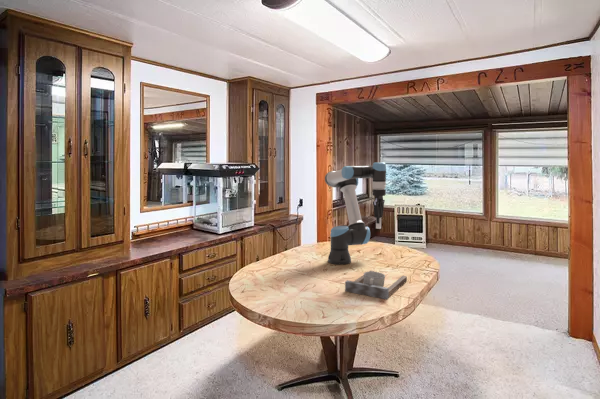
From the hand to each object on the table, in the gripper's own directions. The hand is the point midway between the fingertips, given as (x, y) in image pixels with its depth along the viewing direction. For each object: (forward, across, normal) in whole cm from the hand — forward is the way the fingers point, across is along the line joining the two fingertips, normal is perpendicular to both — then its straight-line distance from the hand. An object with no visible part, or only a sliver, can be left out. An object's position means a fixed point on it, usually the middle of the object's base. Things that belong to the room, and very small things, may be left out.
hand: (378, 228), depth 218 cm
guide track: (+26, -24, -9) cm, 37 cm away
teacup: (+26, -31, -10) cm, 42 cm away
